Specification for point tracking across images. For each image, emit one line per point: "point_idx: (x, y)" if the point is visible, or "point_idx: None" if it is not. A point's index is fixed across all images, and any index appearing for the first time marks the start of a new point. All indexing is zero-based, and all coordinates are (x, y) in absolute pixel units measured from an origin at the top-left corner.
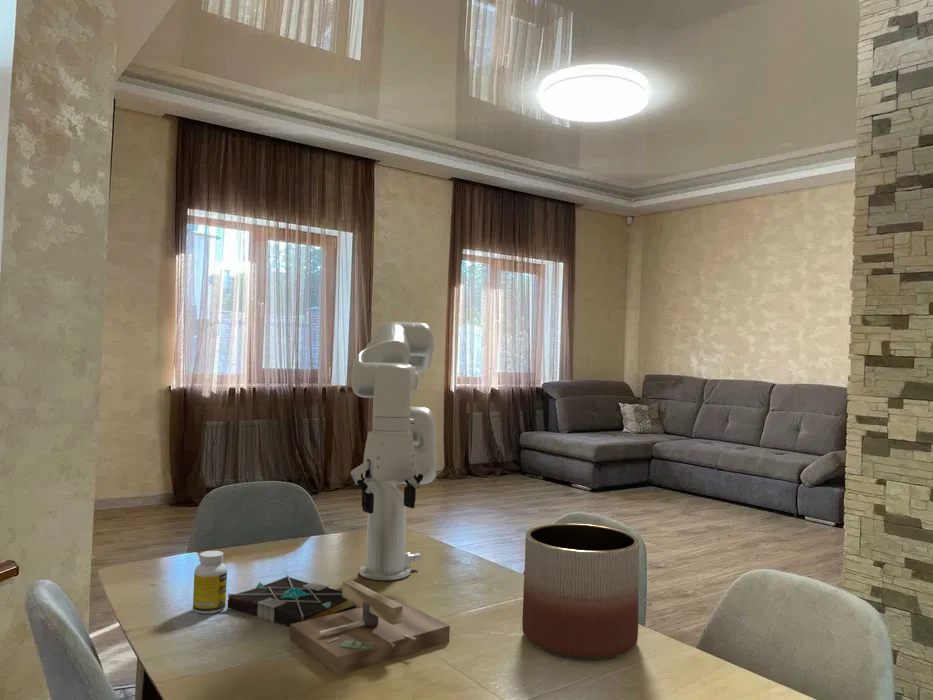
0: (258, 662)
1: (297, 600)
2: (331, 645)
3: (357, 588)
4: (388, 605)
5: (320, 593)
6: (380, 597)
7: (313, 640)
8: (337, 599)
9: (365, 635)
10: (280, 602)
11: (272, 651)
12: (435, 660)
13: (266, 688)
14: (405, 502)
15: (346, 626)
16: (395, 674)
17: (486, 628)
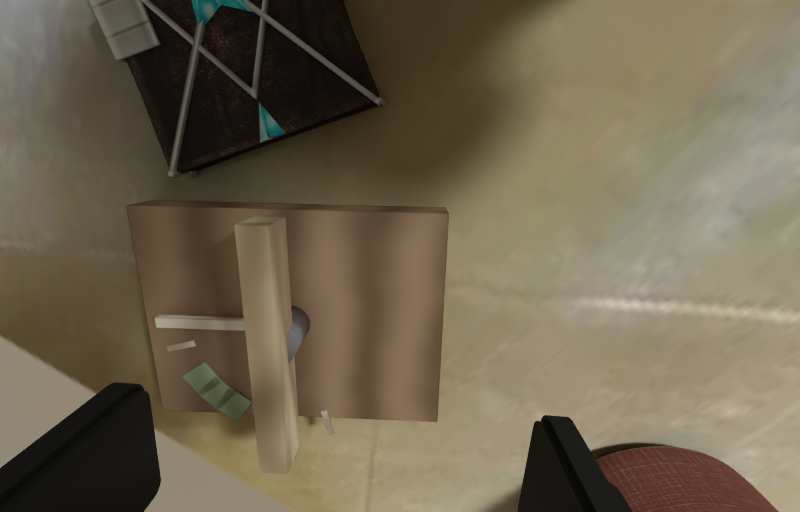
0: (68, 261)
1: (196, 46)
2: (171, 361)
3: (246, 308)
4: (258, 454)
5: (283, 27)
6: (269, 401)
7: (147, 318)
8: (315, 97)
9: None
10: (143, 32)
11: (105, 230)
12: (360, 440)
13: (61, 360)
14: (541, 464)
15: (220, 329)
16: None
17: (545, 396)
